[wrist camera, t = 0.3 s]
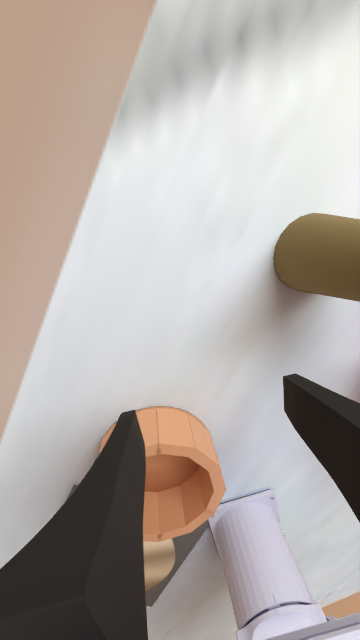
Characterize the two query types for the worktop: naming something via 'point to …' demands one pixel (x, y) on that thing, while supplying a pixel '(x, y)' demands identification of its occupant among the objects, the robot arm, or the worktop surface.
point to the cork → (321, 256)
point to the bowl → (176, 472)
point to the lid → (157, 561)
